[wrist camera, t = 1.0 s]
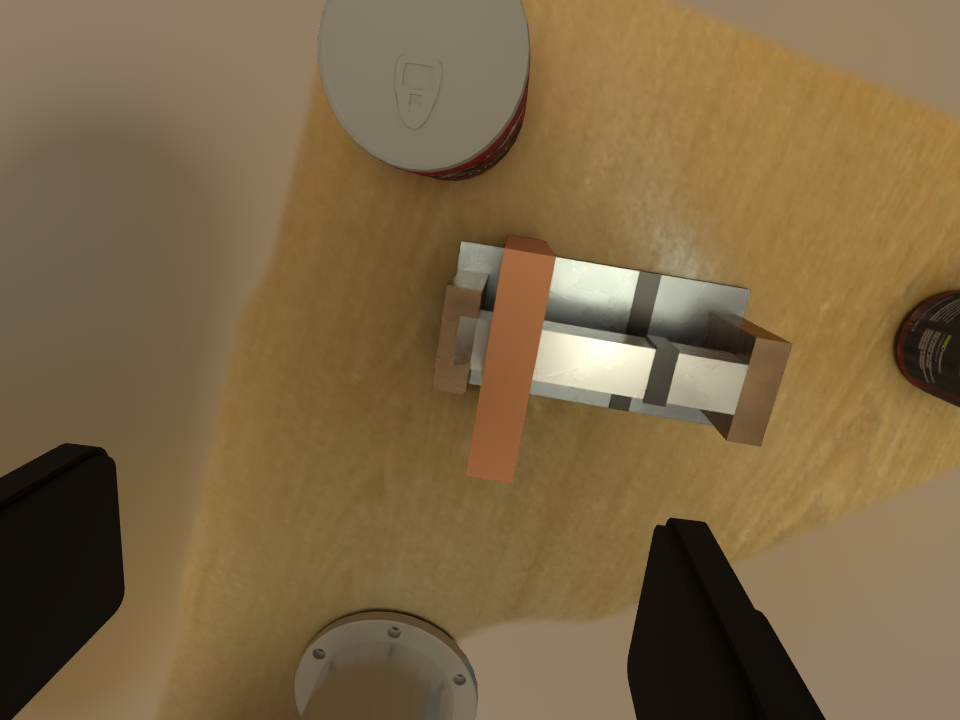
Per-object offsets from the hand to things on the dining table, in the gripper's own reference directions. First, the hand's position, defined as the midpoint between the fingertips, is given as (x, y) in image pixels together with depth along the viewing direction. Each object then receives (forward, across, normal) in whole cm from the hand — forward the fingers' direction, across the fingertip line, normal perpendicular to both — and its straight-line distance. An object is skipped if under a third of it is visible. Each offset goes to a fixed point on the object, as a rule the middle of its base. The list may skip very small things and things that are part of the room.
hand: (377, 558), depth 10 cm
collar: (+24, -2, +1) cm, 24 cm away
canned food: (+25, +2, -10) cm, 27 cm away
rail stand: (+25, -6, +1) cm, 26 cm away
